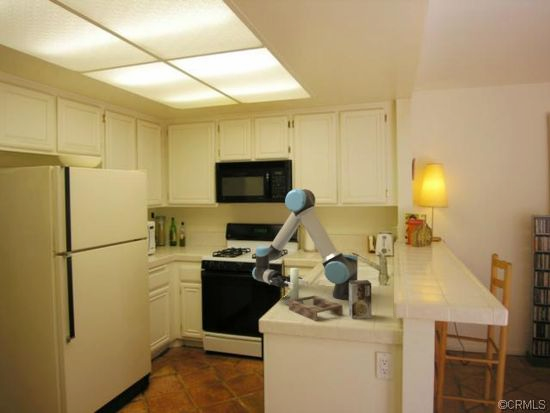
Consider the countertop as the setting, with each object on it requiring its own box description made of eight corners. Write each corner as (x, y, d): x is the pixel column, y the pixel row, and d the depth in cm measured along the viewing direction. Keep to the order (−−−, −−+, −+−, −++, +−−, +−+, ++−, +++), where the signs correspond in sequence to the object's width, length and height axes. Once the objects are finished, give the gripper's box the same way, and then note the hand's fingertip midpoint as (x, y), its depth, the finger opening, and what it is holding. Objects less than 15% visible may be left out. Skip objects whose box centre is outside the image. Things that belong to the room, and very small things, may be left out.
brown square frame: (288, 309, 187) (288, 300, 187) (314, 304, 195) (314, 295, 195) (315, 321, 170) (315, 311, 169) (342, 314, 178) (342, 305, 178)
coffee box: (367, 314, 179) (368, 279, 179) (371, 318, 173) (372, 282, 172) (348, 314, 179) (348, 279, 178) (351, 319, 173) (351, 283, 172)
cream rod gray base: (296, 300, 203) (296, 266, 202) (306, 304, 195) (306, 269, 195) (282, 303, 198) (282, 268, 197) (292, 307, 190) (292, 271, 190)
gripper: (288, 281, 217) (316, 289, 199) (256, 287, 204) (283, 295, 186) (288, 268, 217) (316, 274, 199) (256, 273, 204) (283, 280, 186)
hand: (300, 285), depth 193 cm, fingers open, 9 cm apart
